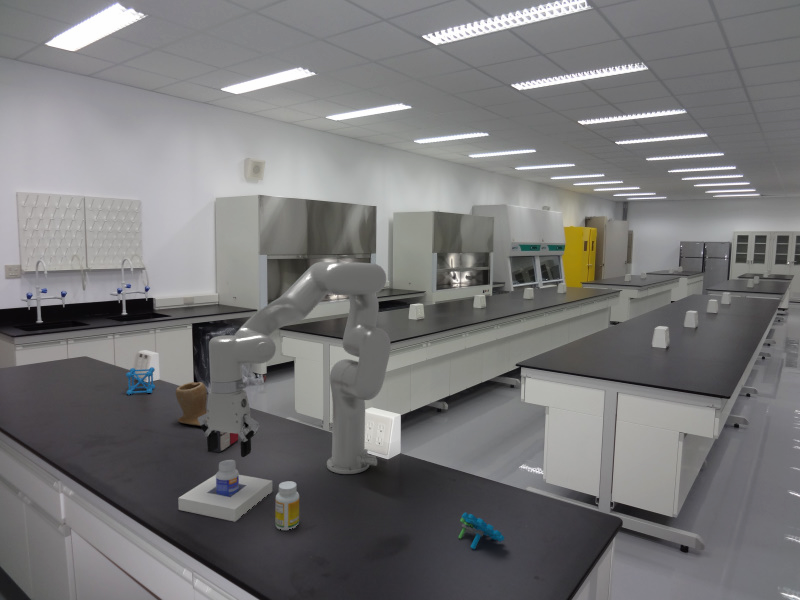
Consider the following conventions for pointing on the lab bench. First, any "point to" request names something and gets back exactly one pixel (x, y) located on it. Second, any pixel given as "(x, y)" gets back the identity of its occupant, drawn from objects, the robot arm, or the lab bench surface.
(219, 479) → the pill bottle
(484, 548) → the lab bench surface
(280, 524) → the supplement bottle
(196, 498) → the white square frame
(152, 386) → the molecular structure
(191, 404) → the tan hollow piece
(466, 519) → the blue plastic legged piece
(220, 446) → the calculator
